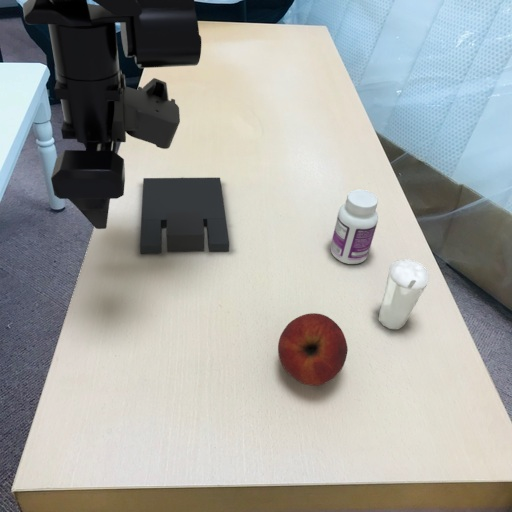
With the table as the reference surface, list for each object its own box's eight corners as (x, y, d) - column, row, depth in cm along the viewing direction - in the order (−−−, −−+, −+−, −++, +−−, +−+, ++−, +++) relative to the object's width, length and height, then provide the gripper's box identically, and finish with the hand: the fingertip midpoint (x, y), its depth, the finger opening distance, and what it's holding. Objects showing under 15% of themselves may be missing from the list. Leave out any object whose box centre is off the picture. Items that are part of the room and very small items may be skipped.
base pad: (140, 254, 69) (139, 245, 68) (144, 185, 80) (143, 177, 79) (228, 251, 71) (229, 243, 70) (219, 185, 82) (220, 177, 81)
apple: (260, 375, 56) (267, 328, 51) (296, 331, 61) (306, 285, 56) (319, 411, 53) (332, 366, 48) (351, 362, 58) (367, 317, 53)
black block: (167, 252, 70) (166, 235, 68) (167, 228, 73) (166, 212, 71) (204, 251, 70) (204, 234, 68) (202, 227, 74) (202, 211, 72)
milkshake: (371, 334, 62) (392, 275, 55) (374, 302, 66) (394, 244, 59) (409, 343, 61) (435, 285, 54) (409, 310, 65) (434, 253, 58)
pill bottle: (369, 245, 74) (386, 191, 68) (364, 269, 70) (381, 214, 64) (333, 236, 75) (346, 182, 68) (326, 259, 71) (339, 204, 65)
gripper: (177, 118, 42) (177, 256, 53) (172, 37, 56) (173, 159, 66) (36, 114, 41) (65, 258, 51) (66, 31, 54) (85, 158, 65)
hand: (104, 202), depth 58 cm, fingers open, 9 cm apart
